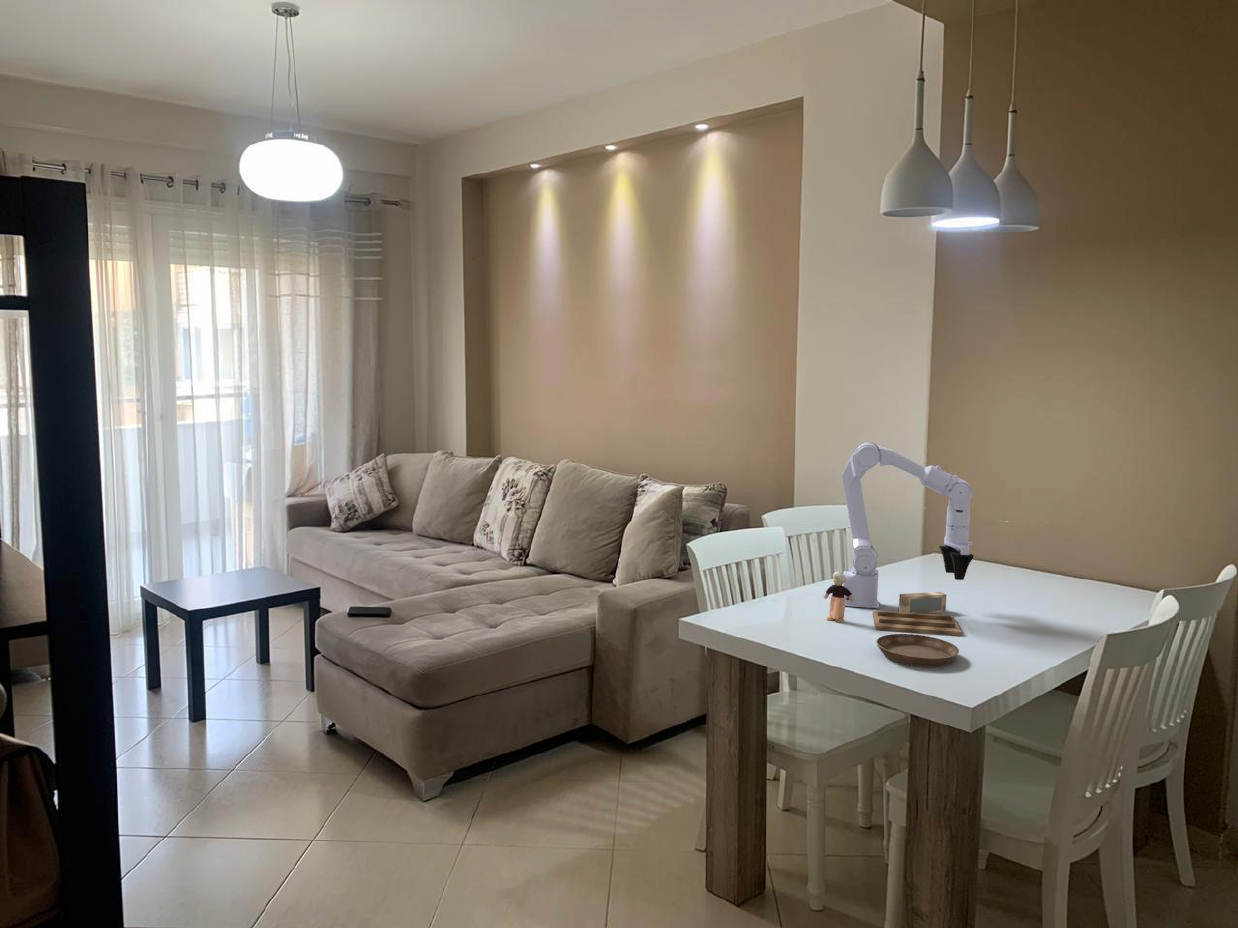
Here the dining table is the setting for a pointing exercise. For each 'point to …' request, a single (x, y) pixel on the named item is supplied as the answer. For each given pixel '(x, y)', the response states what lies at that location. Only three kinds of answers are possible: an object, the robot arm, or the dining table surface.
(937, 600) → the beige long rectangular block
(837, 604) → the grandmother figurine
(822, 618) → the dining table surface
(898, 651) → the plant saucer
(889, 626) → the picture ledge
